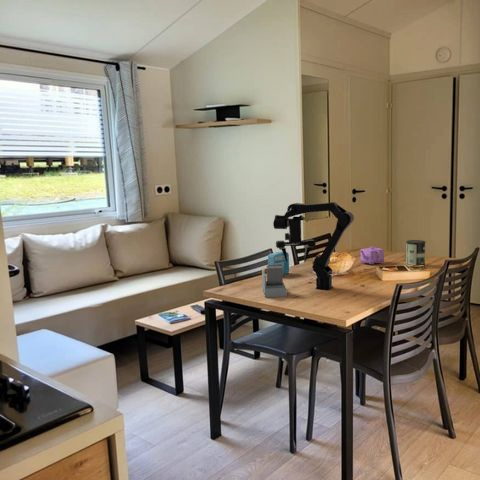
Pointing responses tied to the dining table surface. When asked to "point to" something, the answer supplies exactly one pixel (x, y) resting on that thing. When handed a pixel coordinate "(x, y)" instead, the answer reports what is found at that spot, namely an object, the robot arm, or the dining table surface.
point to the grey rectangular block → (274, 275)
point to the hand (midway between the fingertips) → (295, 261)
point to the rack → (272, 288)
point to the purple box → (372, 255)
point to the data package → (279, 261)
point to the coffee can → (415, 252)
